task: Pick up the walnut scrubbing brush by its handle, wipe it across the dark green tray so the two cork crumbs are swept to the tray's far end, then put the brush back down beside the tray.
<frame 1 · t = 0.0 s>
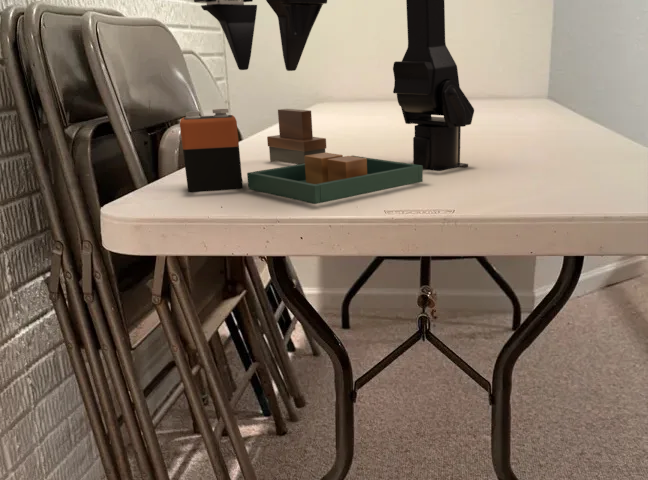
hand: (266, 70, 80), 15 cm above the table, tool pointing down, fingers open, 9 cm apart
tray: (336, 188, 91), on the table
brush: (297, 163, 111), on the table
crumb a: (324, 182, 93), resting on tray
battery: (215, 192, 92), on the table
crumb b: (348, 187, 90), resting on tray
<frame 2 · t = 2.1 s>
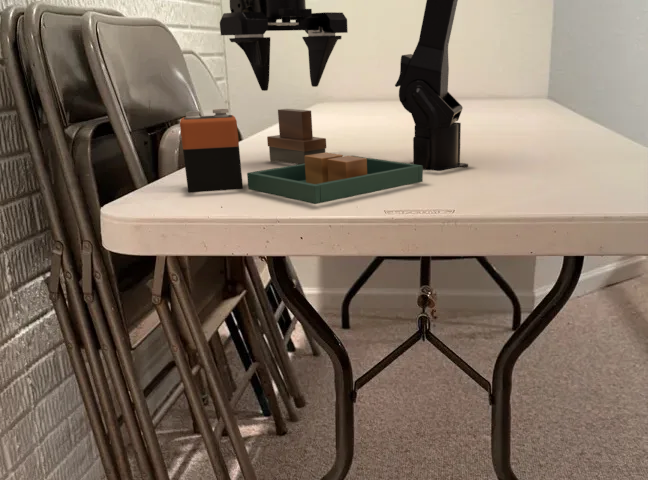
hand: (290, 88, 104), 11 cm above the table, tool pointing down, fingers open, 9 cm apart
nothing on the table moved.
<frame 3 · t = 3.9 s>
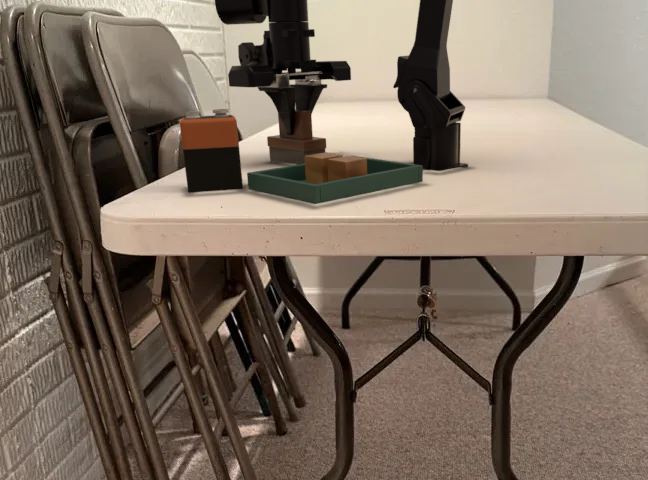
hand: (295, 133, 109), 5 cm above the table, tool pointing down, fingers closed on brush, 2 cm apart
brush: (297, 163, 111), on the table, touching gripper
everything else where it was.
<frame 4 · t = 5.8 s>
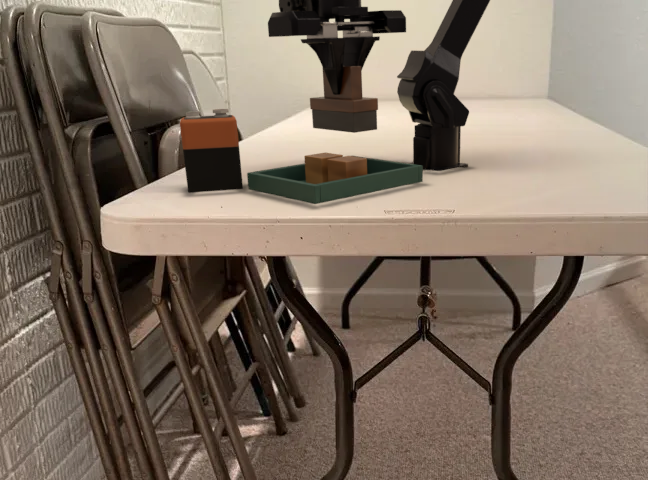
hand: (343, 94, 96), 11 cm above the table, tool pointing down, fingers closed on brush
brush: (344, 128, 97), point 6 cm above the table, touching gripper
everything else where it was.
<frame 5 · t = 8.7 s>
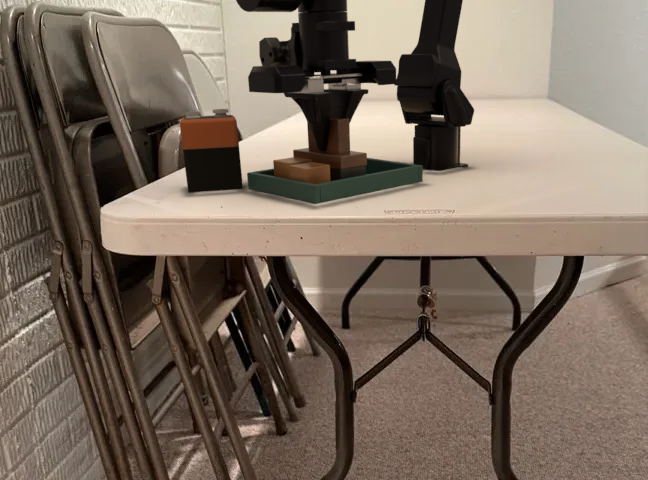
hand: (329, 149, 89), 5 cm above the table, tool pointing down, fingers closed on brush, 2 cm apart
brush: (330, 183, 91), point 1 cm above the table, touching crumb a, gripper
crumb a: (281, 176, 88), point 2 cm above the table, tilted 90°, touching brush
crumb b: (311, 194, 86), resting on tray
everything else where it was.
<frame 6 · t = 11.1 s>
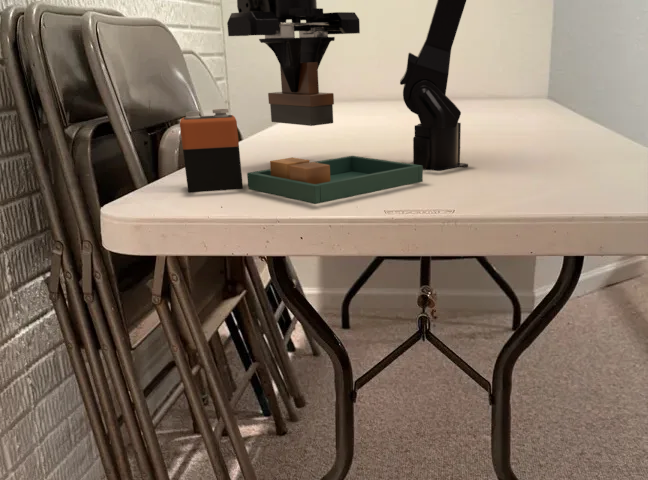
hand: (300, 91, 100), 11 cm above the table, tool pointing down, fingers closed on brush
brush: (301, 122, 102), point 7 cm above the table, touching gripper
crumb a: (279, 176, 88), point 2 cm above the table, tilted 90°, touching tray
everything else where it was.
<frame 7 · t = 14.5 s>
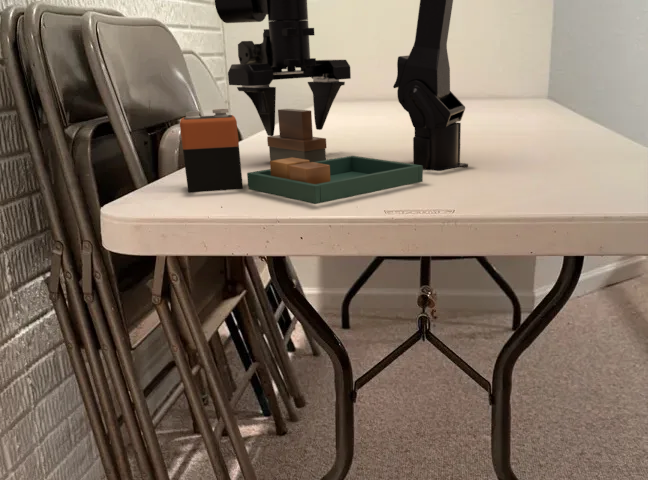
hand: (295, 132, 109), 5 cm above the table, tool pointing down, fingers open, 9 cm apart
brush: (297, 163, 111), on the table
everything else where it was.
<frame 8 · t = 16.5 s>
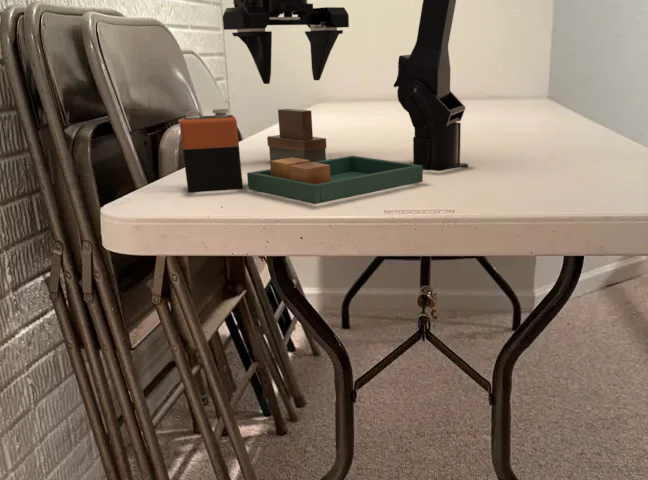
hand: (292, 82, 106), 12 cm above the table, tool pointing down, fingers open, 9 cm apart
nothing on the table moved.
at the end: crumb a inside the target area in the tray (2.7 cm from its centre), point 2.2 cm above the tray's base; crumb b inside the target area in the tray (2.4 cm from its centre), point 0.5 cm above the tray's base; the gripper is holding nothing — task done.
